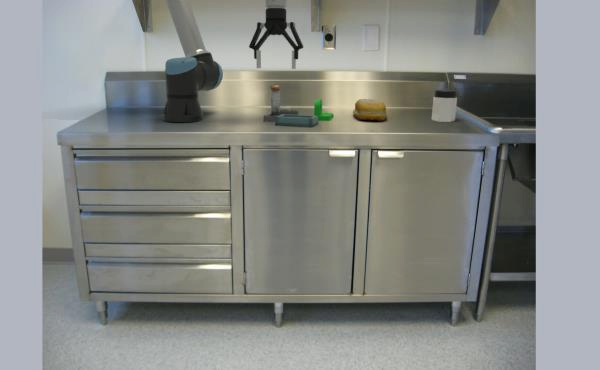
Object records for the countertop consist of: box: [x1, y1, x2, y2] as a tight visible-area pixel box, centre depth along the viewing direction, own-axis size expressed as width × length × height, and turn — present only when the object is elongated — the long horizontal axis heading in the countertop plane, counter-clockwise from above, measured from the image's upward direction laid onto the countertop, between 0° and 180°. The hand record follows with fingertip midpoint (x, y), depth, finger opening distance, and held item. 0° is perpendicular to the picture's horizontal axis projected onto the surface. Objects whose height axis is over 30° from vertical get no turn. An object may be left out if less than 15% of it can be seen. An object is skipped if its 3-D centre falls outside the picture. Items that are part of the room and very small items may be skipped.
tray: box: [274, 114, 319, 128], centre depth 179 cm, size 13×9×3 cm
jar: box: [431, 89, 458, 123], centre depth 194 cm, size 9×8×12 cm
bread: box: [352, 98, 388, 122], centre depth 201 cm, size 13×26×8 cm, turn 179°
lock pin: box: [269, 84, 282, 116], centre depth 189 cm, size 4×4×13 cm
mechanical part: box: [313, 99, 334, 122], centre depth 197 cm, size 12×6×8 cm, turn 167°
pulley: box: [280, 105, 299, 115], centre depth 201 cm, size 9×9×4 cm
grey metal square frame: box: [263, 113, 282, 123], centre depth 190 cm, size 7×7×2 cm
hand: (276, 68), depth 185 cm, fingers open, 13 cm apart
